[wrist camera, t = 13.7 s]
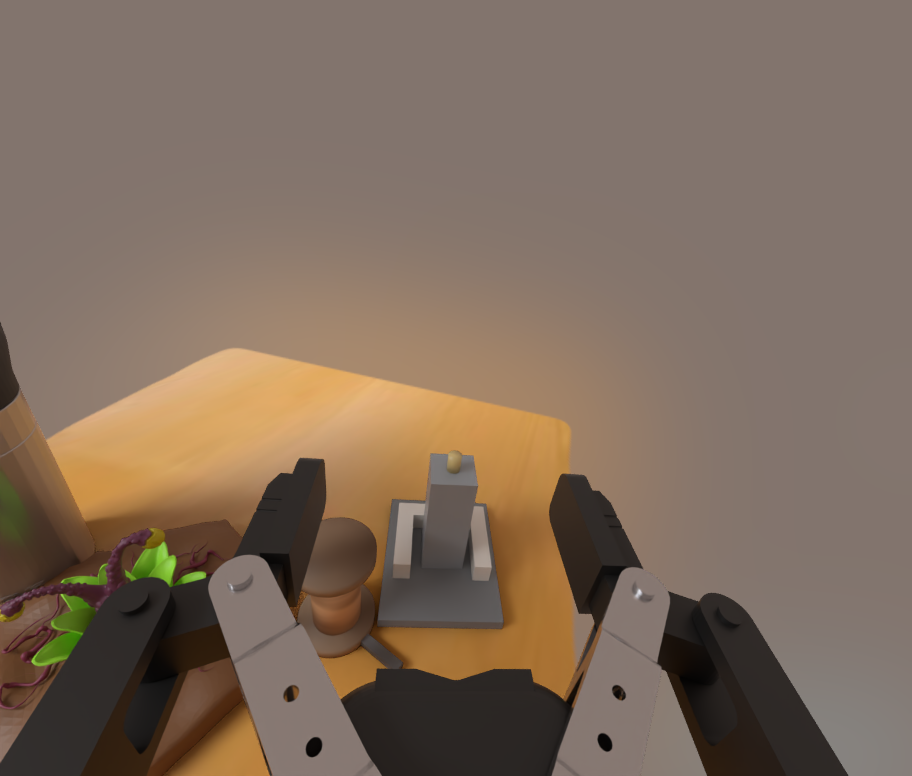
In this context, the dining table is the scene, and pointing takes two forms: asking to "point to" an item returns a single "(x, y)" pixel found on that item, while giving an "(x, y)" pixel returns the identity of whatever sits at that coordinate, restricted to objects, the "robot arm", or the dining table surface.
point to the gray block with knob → (448, 510)
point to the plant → (74, 606)
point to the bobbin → (342, 592)
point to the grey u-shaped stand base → (438, 577)
